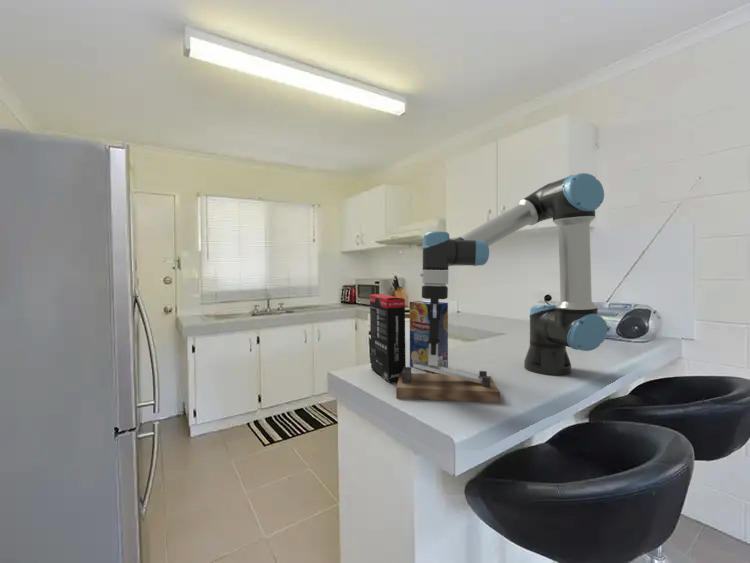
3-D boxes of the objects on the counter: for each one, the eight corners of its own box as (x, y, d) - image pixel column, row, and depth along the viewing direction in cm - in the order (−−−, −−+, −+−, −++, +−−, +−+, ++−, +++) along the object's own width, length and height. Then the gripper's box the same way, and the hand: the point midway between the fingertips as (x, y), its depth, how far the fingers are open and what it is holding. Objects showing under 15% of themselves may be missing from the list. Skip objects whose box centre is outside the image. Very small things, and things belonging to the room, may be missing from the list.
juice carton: (448, 369, 126) (448, 302, 125) (433, 373, 122) (433, 304, 121) (423, 362, 136) (423, 300, 135) (409, 366, 131) (409, 301, 130)
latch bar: (484, 380, 104) (485, 377, 104) (487, 385, 101) (488, 381, 100) (413, 363, 107) (414, 359, 107) (412, 367, 103) (413, 363, 103)
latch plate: (490, 385, 109) (490, 366, 109) (500, 402, 95) (500, 380, 95) (400, 381, 113) (400, 363, 113) (396, 397, 99) (396, 376, 99)
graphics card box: (407, 381, 114) (407, 296, 113) (387, 383, 112) (387, 297, 111) (386, 367, 130) (386, 293, 129) (369, 369, 128) (368, 294, 127)
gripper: (422, 283, 111) (420, 358, 111) (421, 285, 98) (419, 370, 99) (446, 284, 109) (444, 359, 110) (449, 286, 97) (447, 371, 97)
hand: (432, 364), depth 104 cm, fingers closed
